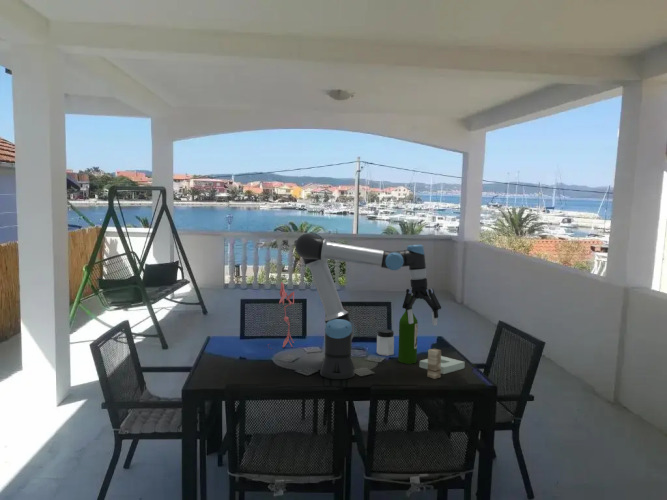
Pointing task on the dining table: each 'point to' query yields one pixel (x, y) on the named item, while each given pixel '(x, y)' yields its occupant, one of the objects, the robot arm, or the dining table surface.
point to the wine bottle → (407, 340)
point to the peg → (434, 363)
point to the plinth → (445, 365)
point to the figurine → (283, 295)
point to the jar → (385, 342)
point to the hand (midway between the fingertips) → (423, 324)
